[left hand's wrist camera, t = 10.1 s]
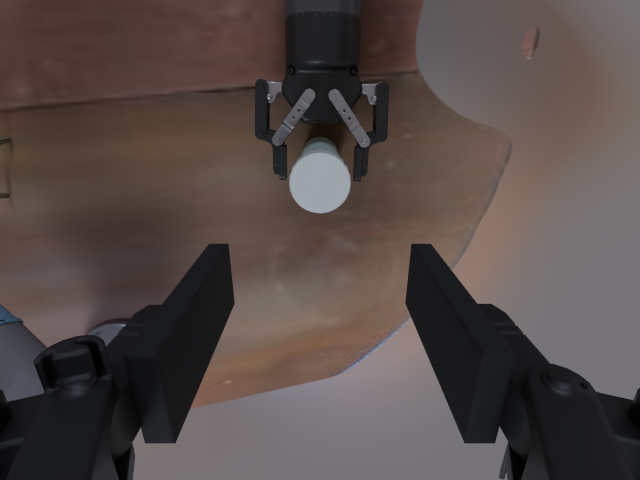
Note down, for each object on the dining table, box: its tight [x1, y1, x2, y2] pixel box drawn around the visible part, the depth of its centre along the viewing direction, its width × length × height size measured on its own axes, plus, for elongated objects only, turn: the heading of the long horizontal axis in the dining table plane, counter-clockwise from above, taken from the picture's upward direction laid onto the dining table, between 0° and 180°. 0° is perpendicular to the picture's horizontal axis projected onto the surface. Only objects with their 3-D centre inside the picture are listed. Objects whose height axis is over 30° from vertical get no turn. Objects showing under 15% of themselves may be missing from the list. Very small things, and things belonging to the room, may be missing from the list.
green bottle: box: [301, 137, 339, 156], centre depth 38 cm, size 5×5×17 cm
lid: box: [289, 149, 351, 213], centre depth 31 cm, size 5×5×2 cm
